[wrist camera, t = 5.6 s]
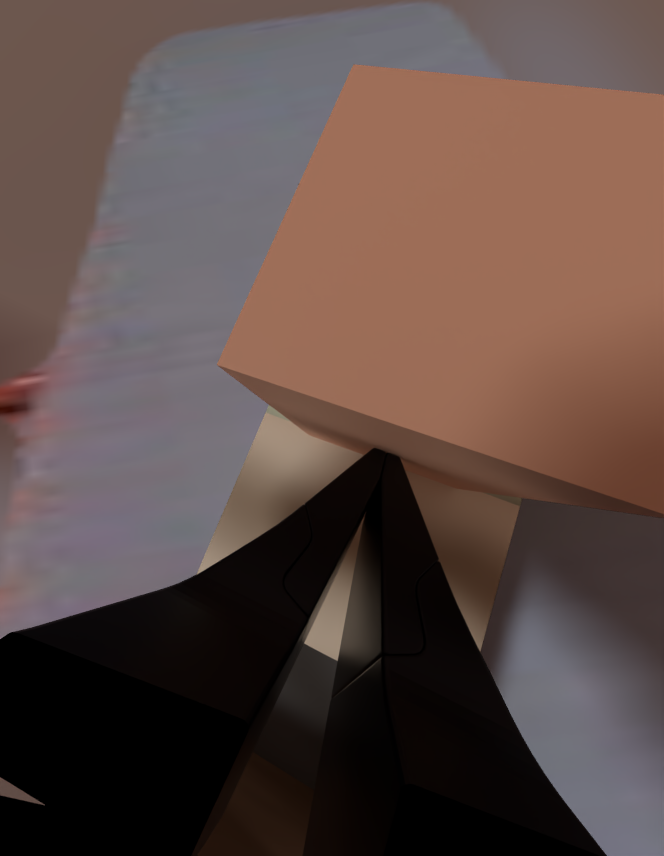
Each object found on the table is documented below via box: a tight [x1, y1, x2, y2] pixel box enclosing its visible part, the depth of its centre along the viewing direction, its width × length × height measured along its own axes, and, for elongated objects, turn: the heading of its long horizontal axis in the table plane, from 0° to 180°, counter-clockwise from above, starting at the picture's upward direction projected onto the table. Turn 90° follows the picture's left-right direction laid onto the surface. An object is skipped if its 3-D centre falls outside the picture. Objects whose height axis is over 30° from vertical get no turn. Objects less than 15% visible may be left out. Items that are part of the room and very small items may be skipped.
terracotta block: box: [217, 65, 664, 518], centre depth 8 cm, size 7×7×8 cm
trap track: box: [197, 405, 522, 856], centre depth 13 cm, size 36×12×6 cm, turn 159°
